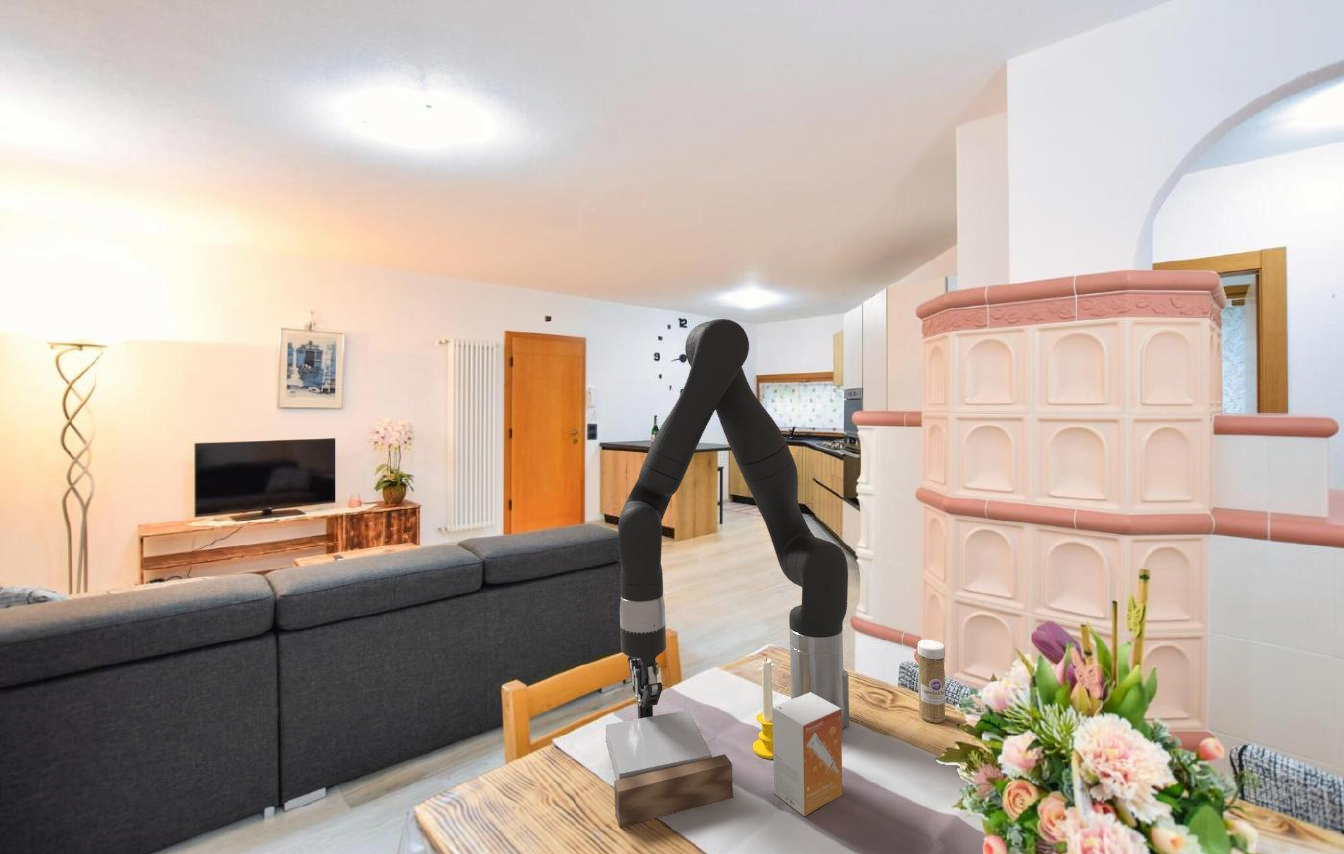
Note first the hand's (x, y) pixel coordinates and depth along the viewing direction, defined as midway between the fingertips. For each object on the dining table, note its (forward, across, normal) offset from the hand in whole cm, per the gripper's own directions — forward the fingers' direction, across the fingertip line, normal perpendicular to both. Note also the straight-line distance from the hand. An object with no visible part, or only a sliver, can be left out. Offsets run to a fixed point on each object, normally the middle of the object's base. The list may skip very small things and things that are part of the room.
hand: (645, 724), depth 97 cm
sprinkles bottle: (+5, -9, -51) cm, 52 cm away
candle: (+5, -7, -19) cm, 21 cm away
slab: (+1, -7, 0) cm, 7 cm away
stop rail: (+4, -14, 0) cm, 15 cm away
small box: (+5, -19, -19) cm, 27 cm away
